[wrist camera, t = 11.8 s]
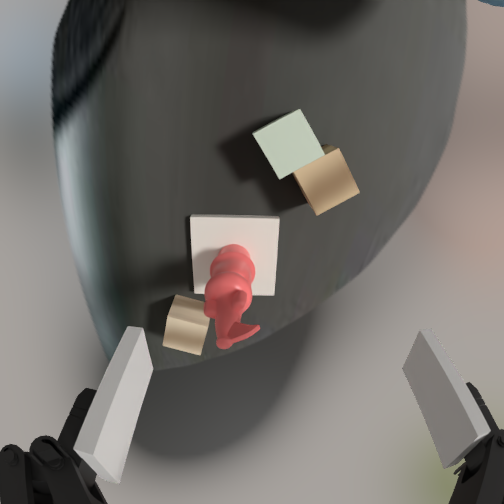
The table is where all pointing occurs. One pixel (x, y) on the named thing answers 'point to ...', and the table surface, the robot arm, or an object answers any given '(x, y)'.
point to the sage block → (288, 143)
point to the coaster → (241, 233)
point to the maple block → (186, 325)
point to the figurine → (230, 294)
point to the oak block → (326, 180)
